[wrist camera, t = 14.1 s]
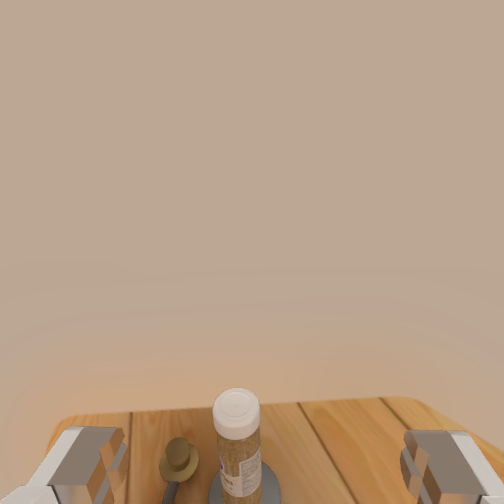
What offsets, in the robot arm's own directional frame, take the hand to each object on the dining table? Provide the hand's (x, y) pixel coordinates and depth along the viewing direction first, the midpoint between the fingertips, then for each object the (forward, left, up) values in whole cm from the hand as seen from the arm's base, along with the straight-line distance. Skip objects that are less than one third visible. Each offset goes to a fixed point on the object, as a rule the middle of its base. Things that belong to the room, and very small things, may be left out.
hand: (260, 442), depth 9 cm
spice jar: (+3, -15, -29) cm, 33 cm away
